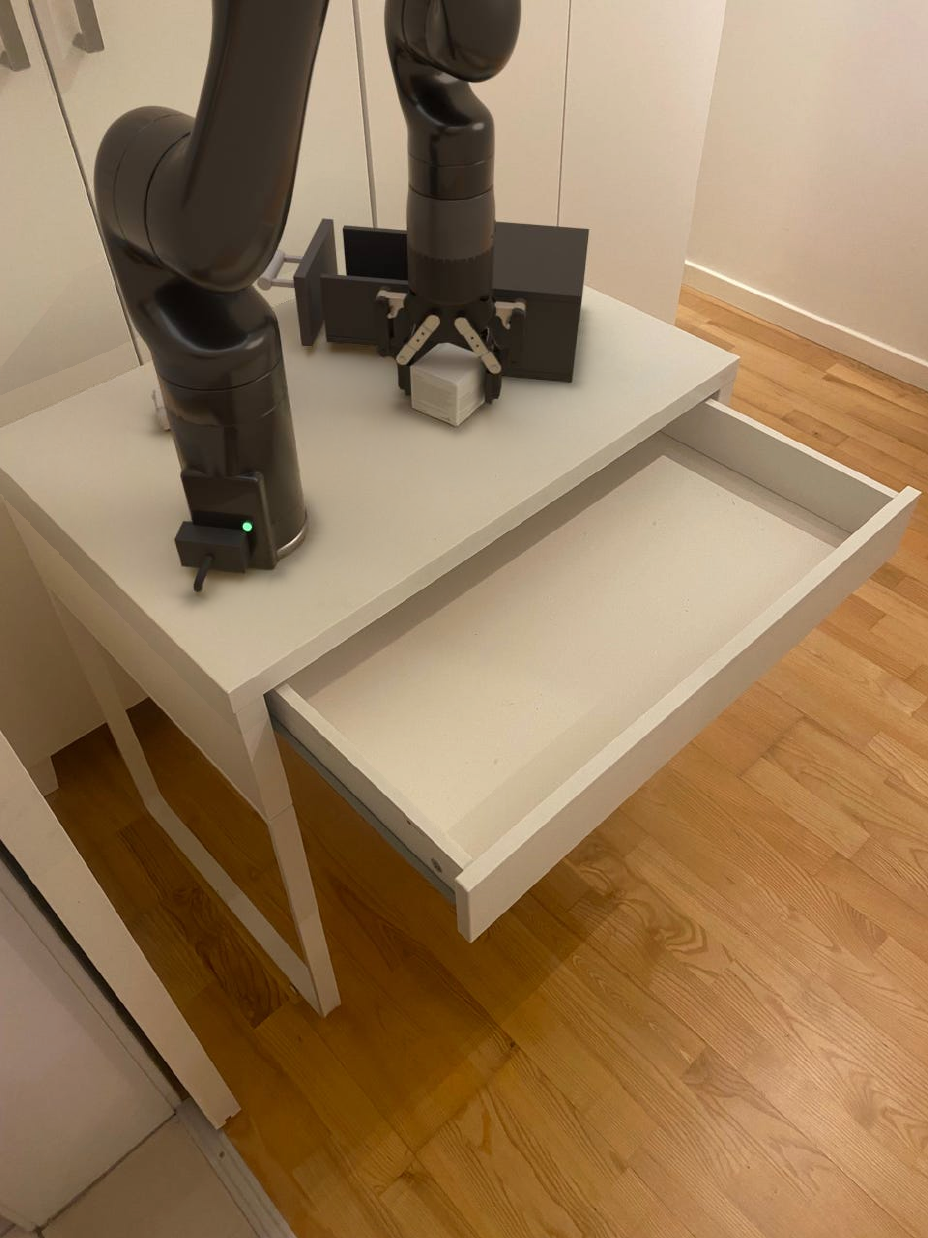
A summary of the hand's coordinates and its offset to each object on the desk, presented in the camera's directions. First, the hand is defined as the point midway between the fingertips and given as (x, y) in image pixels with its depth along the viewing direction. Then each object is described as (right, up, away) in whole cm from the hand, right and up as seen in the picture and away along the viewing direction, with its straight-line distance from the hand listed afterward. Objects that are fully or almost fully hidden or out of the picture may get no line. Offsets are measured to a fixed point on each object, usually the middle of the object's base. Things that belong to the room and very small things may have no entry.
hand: (450, 395), depth 94 cm
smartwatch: (-27, -4, -2) cm, 27 cm away
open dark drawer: (-9, +10, +9) cm, 17 cm away
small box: (0, -1, +1) cm, 1 cm away
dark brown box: (+5, +8, +9) cm, 13 cm away
